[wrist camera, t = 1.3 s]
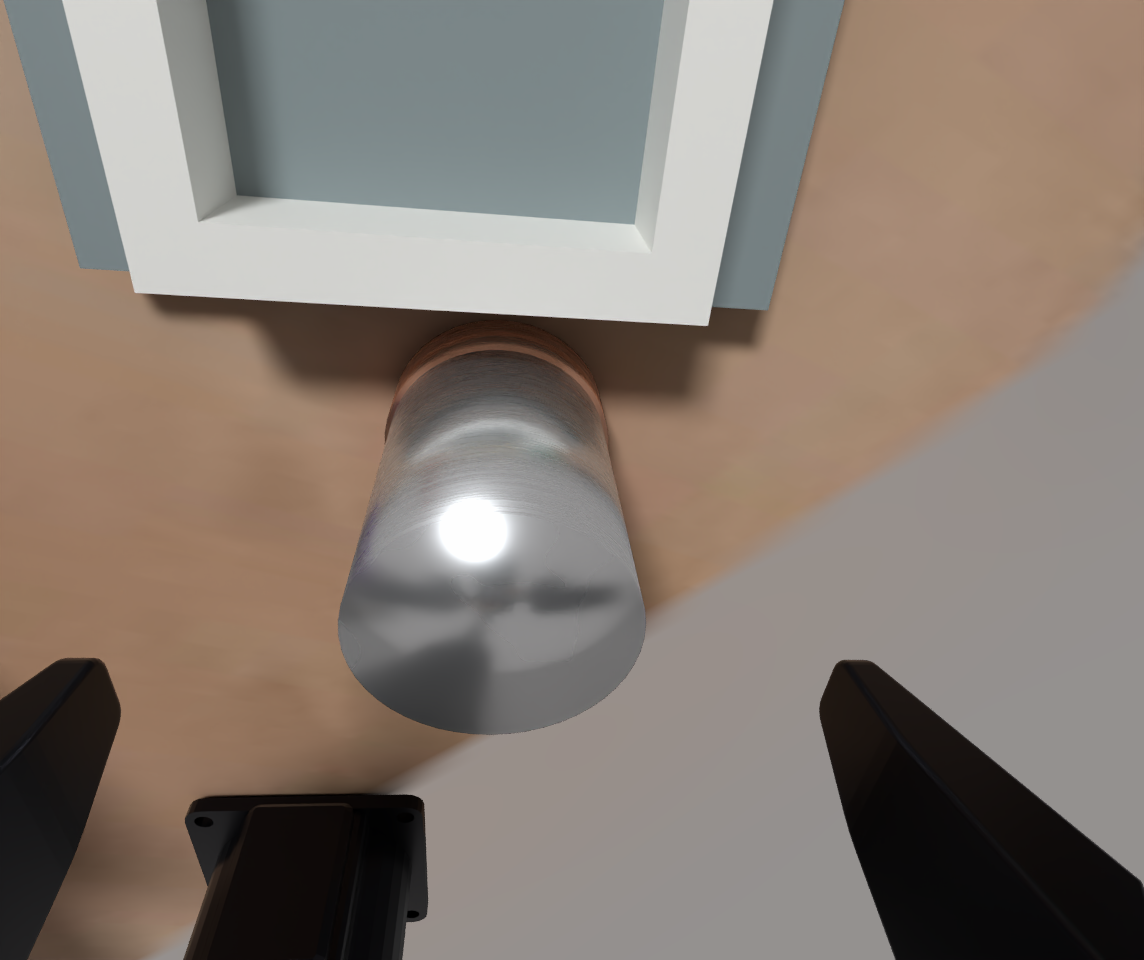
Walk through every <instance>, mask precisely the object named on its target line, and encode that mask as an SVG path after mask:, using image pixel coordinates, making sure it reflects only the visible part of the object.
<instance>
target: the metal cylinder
mask: <svg viewBox="0 0 1144 960" xmlns="http://www.w3.org/2000/svg"><path fill="white" fill-rule="evenodd" d="M608 443H609V440H608V429H607V425H606V421H605V417H604V412H603V408H602V404H601V400H600V396H599V392H598V388H597V385H596V383H595V381H594V378H593V376H592V374H591V372H590V371H589V369H588V367H587V366H586V364H585V363H584V362H583V360H582V359H581V358H580V357H579V355H578V354H577V353H576V352H575V351H573V350H572V349H571V348H570V347H569V346H568V345H567V344H565V343H564V342H563V341H561V340H560V339H559V338H557V337H555V336H553V335H552V334H550V333H548V332H546V331H544V330H541V329H539V328H536V327H534V326H531V325H527V324H523V323H519V322H513V321H504V320H487V321H479V322H472V323H469V324H465V325H461V326H458V327H455V328H453V329H451V330H448V331H446V332H444V333H442V334H441V335H439V336H437V337H435V338H434V339H432V340H431V341H430V342H428V343H427V344H426V345H425V346H423V347H422V348H421V349H420V350H419V351H418V352H417V353H416V354H415V355H414V356H413V358H412V359H411V360H410V362H409V363H408V365H407V366H406V368H405V369H404V371H403V373H402V375H401V377H400V379H399V382H398V385H397V388H396V391H395V395H394V398H393V402H392V405H391V409H390V412H389V416H388V419H387V424H386V430H385V447H384V451H383V454H382V458H381V462H380V465H379V469H378V472H377V476H376V480H375V483H374V487H373V490H372V494H371V498H370V501H369V505H368V508H367V512H366V516H365V519H364V523H363V527H362V530H361V534H360V537H359V541H358V545H357V548H356V552H355V555H354V559H353V563H352V566H351V570H350V573H349V577H348V581H347V584H346V588H345V591H344V595H343V599H342V602H341V606H340V612H339V618H338V636H339V641H340V645H341V650H342V652H343V655H344V657H345V660H346V662H347V664H348V666H349V668H350V669H351V671H352V672H353V674H354V676H355V677H356V678H357V680H358V681H359V682H360V683H361V684H362V685H363V687H364V688H365V689H366V690H367V691H368V692H370V693H371V694H372V695H373V696H374V697H375V698H376V699H377V700H379V701H380V702H382V703H383V704H385V705H386V706H387V707H389V708H390V709H392V710H394V711H396V712H398V713H399V714H401V715H403V716H405V717H407V718H410V719H412V720H415V721H417V722H419V723H422V724H425V725H429V726H432V727H435V728H439V729H444V730H448V731H453V732H460V733H468V734H486V735H494V734H511V733H518V732H526V731H531V730H535V729H539V728H544V727H547V726H550V725H553V724H556V723H559V722H562V721H565V720H567V719H569V718H572V717H574V716H576V715H578V714H580V713H582V712H584V711H586V710H587V709H589V708H591V707H592V706H594V705H595V704H597V703H598V702H600V701H601V700H603V699H604V698H605V697H606V696H608V694H610V693H611V692H612V691H613V690H614V689H616V687H617V686H618V685H619V684H620V683H621V682H622V681H623V680H624V679H625V677H626V676H627V675H628V673H629V672H630V670H631V669H632V667H633V666H634V664H635V662H636V660H637V658H638V656H639V654H640V652H641V648H642V645H643V641H644V637H645V628H646V617H645V608H644V603H643V599H642V595H641V590H640V586H639V582H638V577H637V573H636V569H635V565H634V560H633V556H632V552H631V547H630V543H629V539H628V534H627V530H626V526H625V521H624V517H623V513H622V508H621V504H620V500H619V495H618V491H617V487H616V483H615V478H614V474H613V470H612V465H611V461H610V457H609V452H608Z"/></svg>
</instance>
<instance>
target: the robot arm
mask: <svg viewBox="0 0 1144 960" xmlns="http://www.w3.org/2000/svg"><path fill="white" fill-rule="evenodd" d="M819 710H820V711H819V712H820V720H821V724H822V728H823V732H824V736H825V740H826V744H827V748H828V752H829V756H830V760H831V764H832V768H833V772H834V776H835V780H836V784H837V788H838V791H839V795H840V799H841V803H842V807H843V811H844V815H845V819H846V822H847V826H848V829H849V833H850V835H851V839H852V842H853V844H854V847H855V850H856V853H857V856H858V858H859V861H860V864H861V867H862V870H863V872H864V875H865V878H866V881H867V883H868V886H869V889H870V891H871V894H872V897H873V899H874V902H875V905H876V908H877V911H878V913H879V916H880V919H881V921H882V924H883V927H884V929H885V932H886V935H887V938H888V941H889V943H890V946H891V949H892V952H893V954H894V957H895V960H1144V887H1143V884H1142V882H1141V881H1140V880H1139V879H1138V878H1137V877H1135V876H1134V875H1133V874H1132V873H1130V872H1129V871H1128V870H1127V869H1126V868H1124V867H1123V866H1122V865H1121V864H1120V863H1118V862H1117V861H1116V860H1115V859H1113V858H1112V857H1111V856H1110V855H1109V854H1107V853H1106V852H1105V851H1104V850H1102V849H1101V848H1100V847H1099V846H1098V845H1096V844H1095V843H1094V842H1092V841H1091V840H1090V839H1089V838H1088V837H1086V836H1085V835H1084V834H1083V833H1081V832H1080V831H1079V830H1078V829H1077V828H1075V827H1074V826H1073V825H1072V824H1071V823H1069V822H1068V821H1067V820H1065V819H1064V818H1063V817H1062V816H1061V815H1059V814H1058V813H1057V812H1056V811H1055V810H1053V809H1052V808H1051V807H1050V806H1048V805H1047V804H1046V803H1045V802H1044V801H1042V800H1041V799H1040V798H1039V797H1038V796H1036V795H1035V794H1034V793H1033V792H1031V791H1030V790H1029V789H1028V788H1026V787H1025V786H1024V785H1023V784H1021V783H1020V782H1019V781H1018V780H1017V779H1016V778H1014V777H1013V776H1012V775H1011V774H1009V773H1008V772H1007V771H1006V770H1005V769H1003V768H1002V767H1001V766H1000V765H998V764H997V763H996V762H995V761H994V760H992V759H991V758H990V757H989V756H987V755H986V754H985V753H984V752H982V751H981V750H980V749H979V748H978V747H976V746H975V745H974V744H972V743H971V742H970V741H969V740H968V739H967V738H965V737H964V736H963V735H962V734H960V733H959V732H958V731H957V730H956V729H954V728H953V727H952V726H951V725H949V724H948V723H947V722H946V721H945V720H943V719H942V718H941V717H940V716H938V715H937V714H936V713H935V712H934V711H932V710H931V709H930V708H929V707H927V706H926V705H925V704H924V703H923V702H921V701H920V700H919V699H918V698H916V697H915V696H914V695H913V694H912V693H910V692H909V691H908V690H907V689H905V688H904V687H903V686H902V685H901V684H899V683H898V682H897V681H896V680H894V679H893V678H892V677H891V676H890V675H888V674H887V673H886V672H885V671H883V670H882V669H881V668H880V667H878V666H877V665H876V664H874V663H873V662H871V661H867V660H842V661H840V662H838V663H837V664H836V665H835V667H834V669H833V672H832V674H831V676H830V679H829V681H828V684H827V686H826V689H825V691H824V693H823V696H822V698H821V702H820V708H819ZM120 717H121V708H120V702H119V700H118V697H117V694H116V692H115V689H114V686H113V684H112V681H111V678H110V676H109V673H108V670H107V668H106V666H105V664H104V663H103V662H102V661H101V660H100V659H96V658H64V659H60V660H58V661H56V662H54V663H53V664H51V665H50V666H48V667H47V668H45V669H44V670H43V671H41V672H40V673H38V674H37V675H35V676H34V677H32V678H31V679H30V680H28V681H27V682H25V683H24V684H22V685H21V686H20V687H18V688H17V689H15V690H14V691H12V692H11V693H10V694H8V695H7V696H5V697H4V698H2V699H1V700H0V960H27V959H28V957H29V955H30V952H31V950H32V948H33V946H34V944H35V941H36V939H37V937H38V935H39V933H40V930H41V928H42V926H43V924H44V922H45V920H46V917H47V915H48V913H49V911H50V909H51V906H52V904H53V902H54V900H55V898H56V896H57V893H58V891H59V889H60V887H61V885H62V882H63V880H64V878H65V876H66V874H67V871H68V869H69V867H70V864H71V862H72V860H73V857H74V855H75V852H76V850H77V847H78V844H79V842H80V839H81V836H82V833H83V831H84V828H85V825H86V822H87V819H88V816H89V813H90V810H91V807H92V804H93V801H94V798H95V795H96V792H97V789H98V786H99V783H100V780H101V777H102V774H103V771H104V768H105V765H106V762H107V759H108V756H109V753H110V750H111V747H112V744H113V741H114V738H115V735H116V732H117V729H118V726H119V722H120ZM185 824H186V827H187V830H188V832H189V835H190V838H191V841H192V844H193V846H194V849H195V852H196V855H197V858H198V860H199V863H200V866H201V869H202V872H203V874H204V877H205V880H206V883H207V886H208V888H207V891H206V894H205V897H204V900H203V903H202V906H201V909H200V912H199V915H198V918H197V921H196V924H195V927H194V930H193V932H192V935H191V938H190V941H189V944H188V947H187V951H186V954H185V956H184V959H183V960H402V956H403V947H404V938H405V928H406V922H415V921H420V920H422V919H424V918H425V917H426V915H427V907H428V887H427V862H426V837H425V812H424V803H423V800H421V799H420V798H419V797H416V796H413V795H356V796H300V797H244V798H203V799H198V800H196V801H193V802H192V804H191V805H190V807H189V810H188V812H187V815H186V817H185Z"/></svg>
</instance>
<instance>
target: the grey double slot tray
mask: <svg viewBox="0 0 1144 960" xmlns="http://www.w3.org/2000/svg"><path fill="white" fill-rule="evenodd" d="M4 4H5V7H6V11H7V14H8V18H9V21H10V25H11V28H12V32H13V35H14V39H15V42H16V46H17V49H18V53H19V56H20V60H21V63H22V67H23V70H24V74H25V77H26V81H27V84H28V88H29V91H30V95H31V98H32V102H33V105H34V109H35V112H36V116H37V119H38V123H39V126H40V130H41V133H42V137H43V140H44V144H45V147H46V151H47V154H48V158H49V161H50V165H51V168H52V172H53V175H54V179H55V182H56V186H57V189H58V193H59V196H60V200H61V203H62V206H63V210H64V213H65V217H66V220H67V224H68V227H69V231H70V234H71V238H72V241H73V245H74V248H75V252H76V255H77V259H78V262H79V266H80V268H85V269H101V270H117V271H130V275H131V279H132V283H133V287H134V291H135V293H147V294H165V295H182V296H199V297H216V298H234V299H251V300H268V301H285V302H303V303H320V304H337V305H354V306H372V307H389V308H406V309H423V310H441V311H458V312H475V313H492V314H510V315H527V316H544V317H561V318H579V319H596V320H613V321H630V322H648V323H665V324H682V325H699V326H708V322H709V318H710V313H711V308H712V307H722V308H739V309H755V310H768V308H769V304H770V300H771V296H772V292H773V288H774V284H775V280H776V276H777V272H778V268H779V264H780V260H781V256H782V252H783V247H784V243H785V239H786V235H787V231H788V227H789V223H790V219H791V215H792V211H793V207H794V203H795V199H796V195H797V191H798V187H799V183H800V179H801V175H802V170H803V166H804V162H805V158H806V154H807V150H808V146H809V142H810V138H811V134H812V130H813V126H814V122H815V118H816V114H817V110H818V106H819V102H820V98H821V93H822V89H823V85H824V81H825V77H826V73H827V69H828V65H829V61H830V57H831V53H832V49H833V45H834V41H835V37H836V33H837V29H838V25H839V21H840V16H841V12H842V8H843V4H844V0H4Z"/></svg>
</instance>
